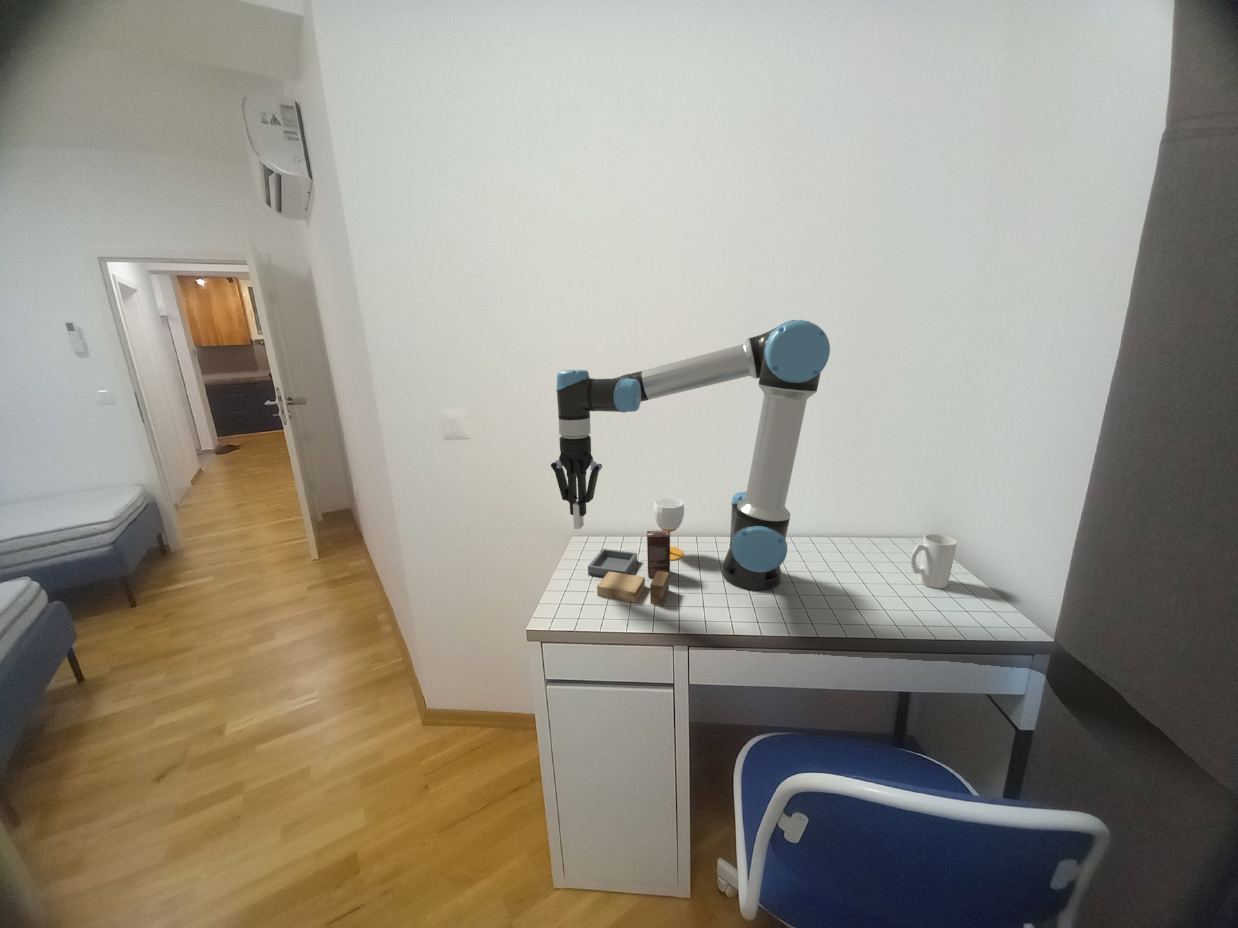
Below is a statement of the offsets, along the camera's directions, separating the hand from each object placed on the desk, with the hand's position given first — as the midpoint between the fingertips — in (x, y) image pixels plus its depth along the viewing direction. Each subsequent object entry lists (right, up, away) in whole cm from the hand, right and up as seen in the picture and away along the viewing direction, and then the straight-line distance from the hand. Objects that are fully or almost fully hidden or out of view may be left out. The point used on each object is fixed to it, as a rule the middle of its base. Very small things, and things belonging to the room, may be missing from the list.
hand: (578, 526), depth 113 cm
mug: (+89, -15, +2) cm, 90 cm away
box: (+21, -14, +9) cm, 27 cm away
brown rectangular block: (+20, -17, -3) cm, 27 cm away
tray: (+9, -13, +13) cm, 20 cm away
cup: (+25, -11, +20) cm, 34 cm away
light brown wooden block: (+11, -17, +1) cm, 20 cm away
